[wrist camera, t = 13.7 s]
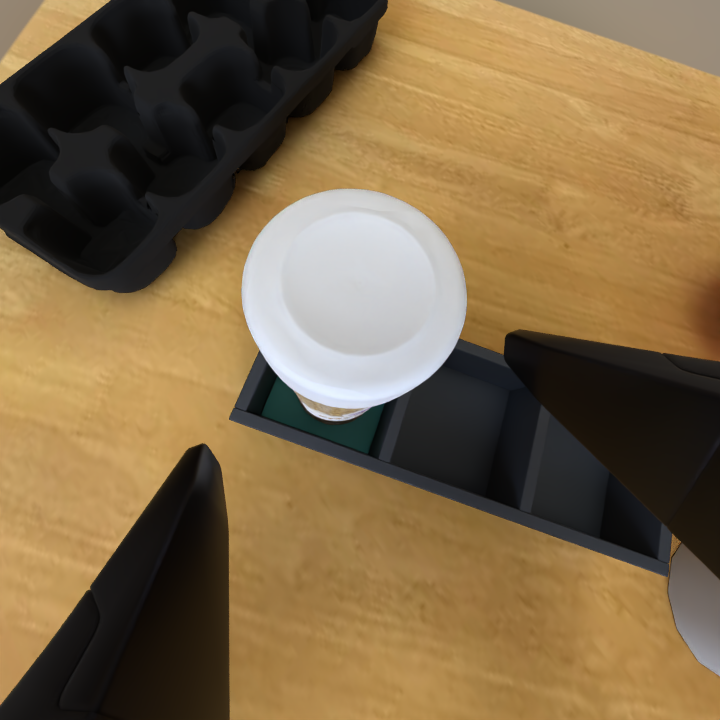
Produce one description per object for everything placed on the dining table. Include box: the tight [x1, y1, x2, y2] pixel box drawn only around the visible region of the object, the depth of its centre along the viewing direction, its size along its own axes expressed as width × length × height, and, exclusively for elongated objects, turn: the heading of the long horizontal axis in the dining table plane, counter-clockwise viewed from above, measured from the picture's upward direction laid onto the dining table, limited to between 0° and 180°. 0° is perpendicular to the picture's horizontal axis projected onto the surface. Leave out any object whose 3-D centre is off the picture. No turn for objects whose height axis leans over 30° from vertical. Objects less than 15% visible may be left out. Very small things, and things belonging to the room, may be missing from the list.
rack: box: [229, 339, 672, 577], centre depth 18 cm, size 8×22×4 cm, turn 71°
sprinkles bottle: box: [241, 189, 467, 425], centre depth 13 cm, size 5×5×14 cm
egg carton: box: [0, 0, 388, 293], centre depth 22 cm, size 18×30×4 cm, turn 159°
